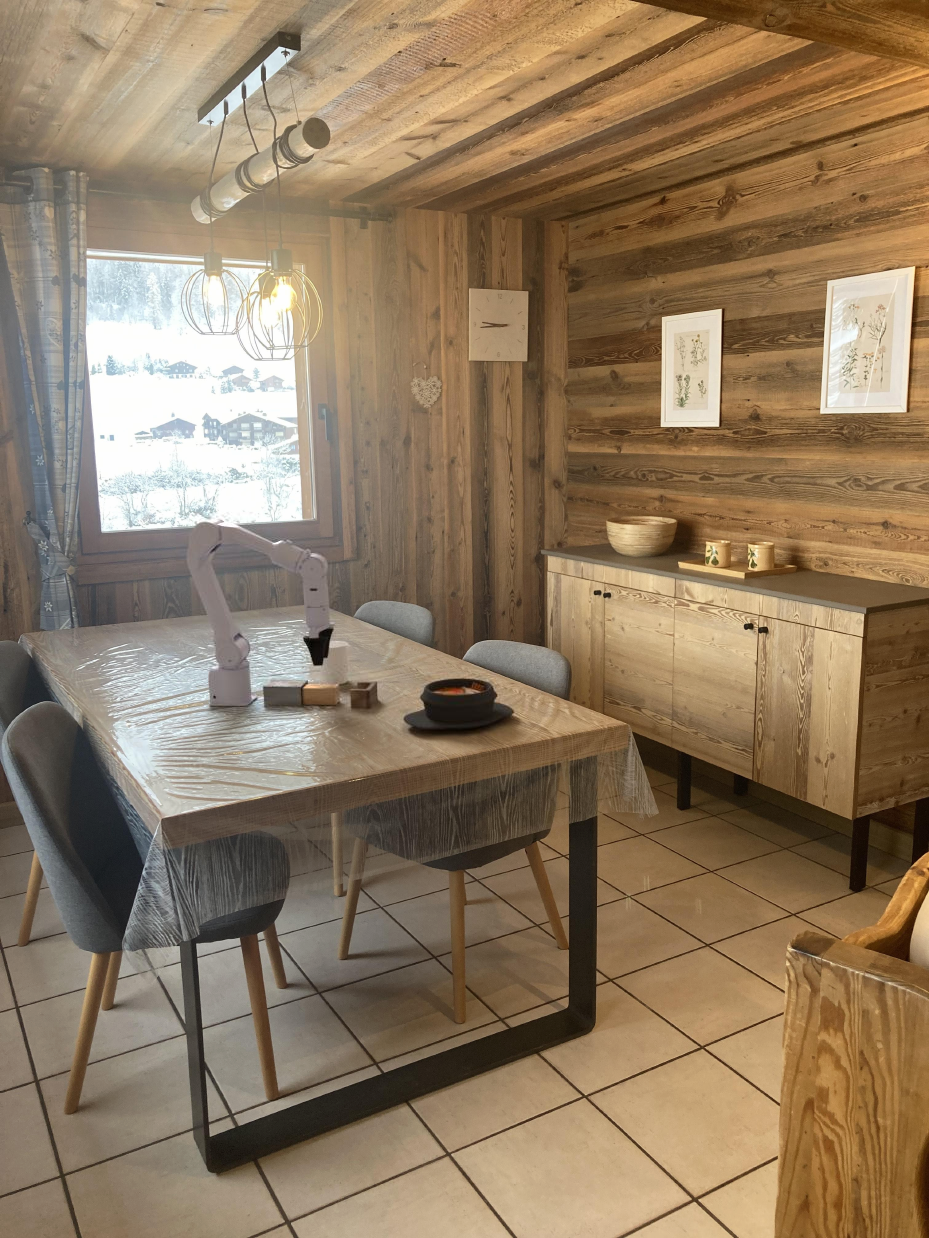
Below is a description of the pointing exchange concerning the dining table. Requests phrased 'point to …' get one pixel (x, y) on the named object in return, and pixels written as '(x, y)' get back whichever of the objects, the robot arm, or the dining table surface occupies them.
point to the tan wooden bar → (320, 694)
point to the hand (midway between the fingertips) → (320, 661)
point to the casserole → (458, 705)
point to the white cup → (335, 664)
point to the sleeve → (283, 693)
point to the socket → (364, 695)
